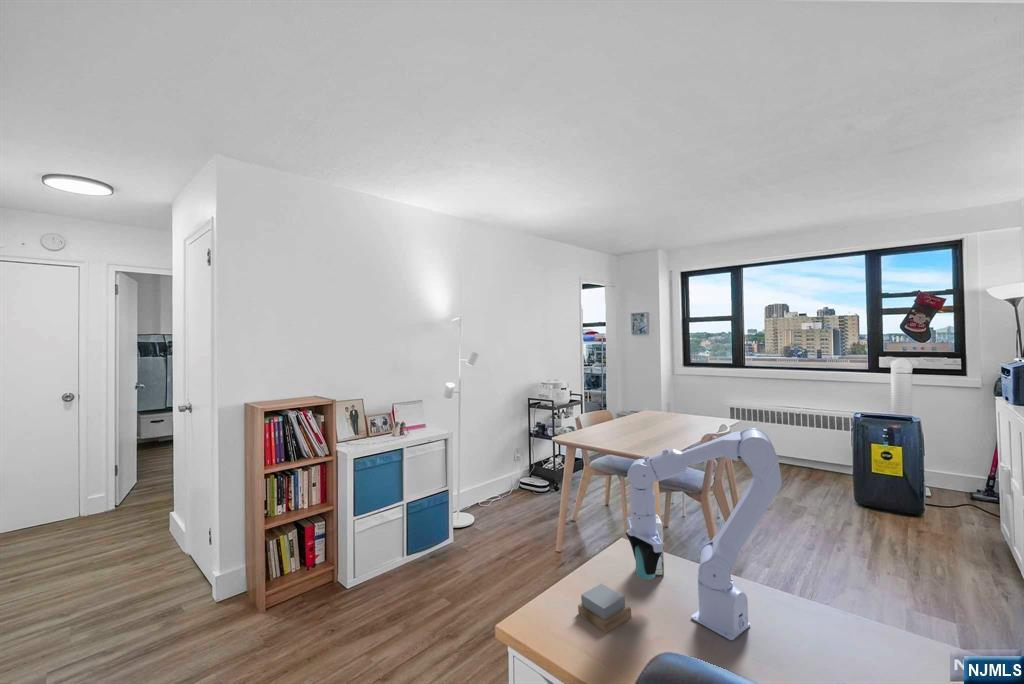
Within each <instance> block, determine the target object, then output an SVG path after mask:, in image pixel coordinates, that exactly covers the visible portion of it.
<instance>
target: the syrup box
mask: <svg viewBox="0 0 1024 684" xmlns="http://www.w3.org/2000/svg"><path fill="white" fill-rule="evenodd" d="M663 527H664V526H663V522H662V520H661V518H660V516H659V515H658V514H656V529H657V531H658V534H659V537H660V540H661V542H662V543H663V544H664V528H663ZM655 576H665V559H664V552H662V553H661V555H660V557H659V560H658V563H657V567H656V572H655Z"/></svg>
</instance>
